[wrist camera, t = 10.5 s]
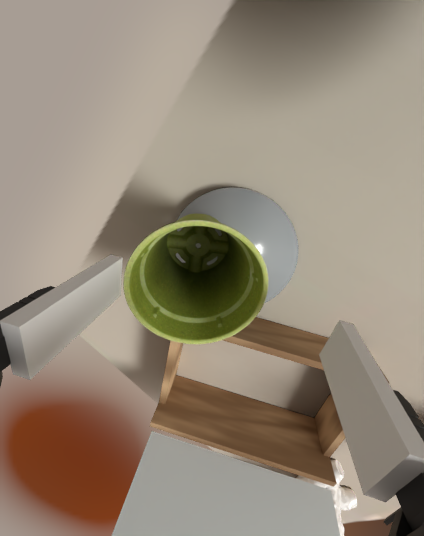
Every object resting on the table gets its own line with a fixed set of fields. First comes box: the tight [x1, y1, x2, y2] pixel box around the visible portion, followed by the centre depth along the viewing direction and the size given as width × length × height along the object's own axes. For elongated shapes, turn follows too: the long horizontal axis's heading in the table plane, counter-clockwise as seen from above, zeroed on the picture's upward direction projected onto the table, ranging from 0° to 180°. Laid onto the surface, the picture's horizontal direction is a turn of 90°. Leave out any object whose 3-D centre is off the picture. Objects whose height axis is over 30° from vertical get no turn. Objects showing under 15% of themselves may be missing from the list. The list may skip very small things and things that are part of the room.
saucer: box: [176, 187, 298, 303], centre depth 24 cm, size 13×13×1 cm
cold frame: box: [150, 317, 389, 487], centre depth 26 cm, size 14×22×7 cm, turn 77°
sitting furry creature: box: [296, 459, 357, 536], centre depth 31 cm, size 10×9×12 cm
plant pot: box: [123, 213, 268, 344], centre depth 19 cm, size 9×9×9 cm
